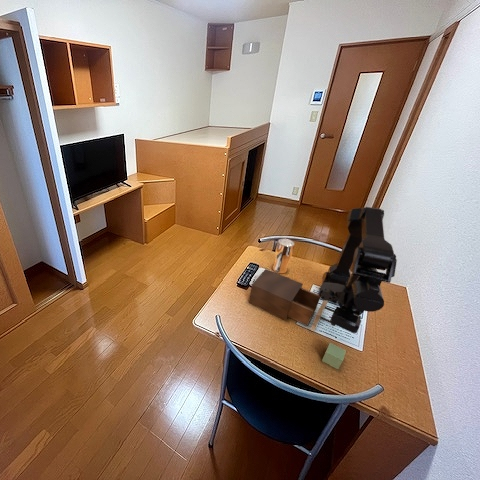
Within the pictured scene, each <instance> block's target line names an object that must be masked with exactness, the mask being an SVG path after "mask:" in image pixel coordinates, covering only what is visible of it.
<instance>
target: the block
mask: <svg viewBox="0 0 480 480" xmlns="http://www.w3.org/2000/svg"><path fill="white" fill-rule="evenodd" d="M346 352H347V350H346V349H344V348H342V347H340V346H338V345H336V344H334V343H332V342H329V344H328V346H327V347H326V350H325V352H324V354H323V357H322V360H321V362H323V363H325V364H327V365H328V366H331V367H332V368H334V369H336V370H339V369H340V368H341V366H342V363H343V361H344V359H345V356H346Z"/></svg>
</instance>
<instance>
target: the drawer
mask: <svg viewBox="0 0 480 480" xmlns="http://www.w3.org/2000/svg"><path fill="white" fill-rule="evenodd" d="M320 300H321V297H320V296H319V293H315V292H313V291H310V290H308V289H306V288H303V287H302V288H300V290H299V292H298V293H297V295H296V296H295V298H294V299H293V301H292V302H291V306H290V309H289V312H288V315H287V316H288V317H287V318H290V319H292V320H293V321H296V322H298V323H300V324H301V325H304V326H306V327H307V326H309V324H310V322H311V320H312V318H313V316H314V314H315V312H316V310H317V308H318V305H319V302H320ZM328 302H329V301H325V300H322V301H321V304H320V306H319V308H318V310H317V312H316V314H315V317H314V320H313V322H312V324H311V327H310V331H312V332H315V330H316V329H317V327H318V324H319V322H320V320H322V321H325V322H327V323H329V324H330V325H331V326H333V327H335V326H336V325H334V324H332V323H331V322H330V319H328V318H325V317H323V314H324V312H325V310H327V311H329V312H332V313H333V312H334V310H335V309H333V308H330V307H327V305H328Z"/></svg>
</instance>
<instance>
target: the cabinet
mask: <svg viewBox="0 0 480 480" xmlns="http://www.w3.org/2000/svg"><path fill="white" fill-rule="evenodd" d="M303 285H304V283H302V282H300V281H297V280H295V279H292V278H289V277H287V276H285V275H283V274H281V273H277V272H275V271H272V270H270V269H267V268H265V269H264V270H263V271H262V272H261V273H260V274H259V275H258V277H257V278H256V279H255V280H254V281H253V282H252V284H251V287H250V293H249V297H248V304H251V305H252V306H255V307H256V308H259V309H261V310H263V311H264V312H267V313H269V314H271V315H273V316H275V317H277V318H279V319H280V320H283V321H287V320H288V318H289V317H288V316H287V315H288V312H289V309H290V306H291V302H292V301H293V299H294V298H295V296H296V295H297V293H298V292H299V290H300V288H303Z"/></svg>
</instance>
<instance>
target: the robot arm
mask: <svg viewBox="0 0 480 480" xmlns="http://www.w3.org/2000/svg"><path fill="white" fill-rule="evenodd" d="M384 217H385V210H384V209H382V208H378V207H370V206H365V207H361V208H360V207H359V208H357V207H355V208H352V209H350V210H349V211H348V212H347V216H346V225H347V231H348V233H347V236H346V239H345V241H344V243H343V246H342V248H341V252H340V254H339V256H338V258H337V261H336V262H335V263H333V264H332V265H330V266H329V267H328V270H327V271H325V272H323V273H322V277H321V285H320V286H319V293H318V295H319V296H320V300H322V301H323V300H325V301H328V302H331V303H333V304H337V305H338V306H336V308H335V309H333V310H334V312H332V314H331V317H330V319H329V320H330V322H331V323H332V324H334V325H335V326H336V327H339V328H341V329H344V330H346V331H348V332H350V333H351V334H357V333H358V331H359V329H360V326H361V324H362V319H361V318H362V316H361V315H362V314H363V313H364V312H368V313H369V312H371V313H372V312H378V311H380V310H381V309H383V308H384V307H385V299H384V295H383V291H382V289H381V284H382V283H383V282H384V283H387V284H390V283H391V281H392V278H394V277H395V275H396V268H397V262H398V259H397V255H396V253H395V252H394V247H393V245H392V244H391V243H389V241H387V240H386V238H385V230H384V222H383V219H384ZM378 270H379V271H383V272H379V271H378ZM384 271H385V272H384ZM331 323H330V324H331Z"/></svg>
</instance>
